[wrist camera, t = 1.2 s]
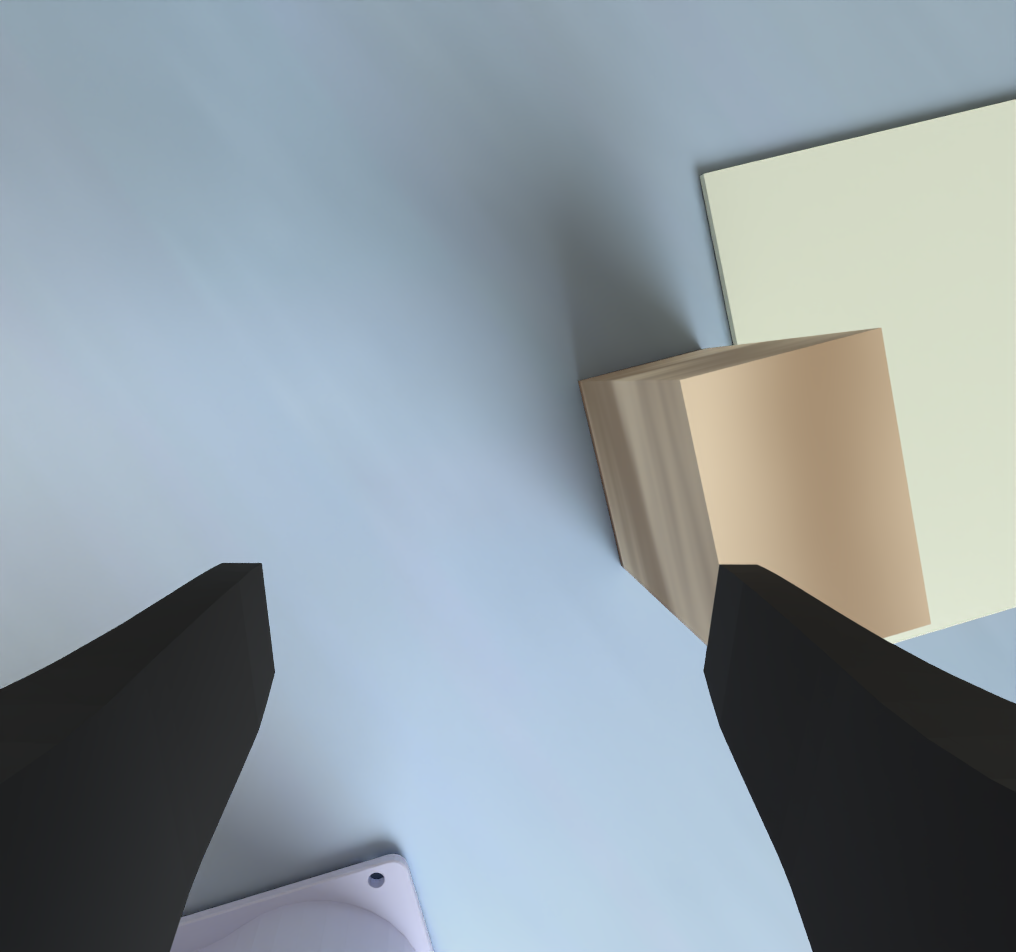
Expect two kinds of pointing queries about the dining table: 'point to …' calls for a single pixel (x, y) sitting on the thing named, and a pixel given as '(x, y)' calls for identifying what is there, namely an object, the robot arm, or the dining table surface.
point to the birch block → (762, 475)
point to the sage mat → (903, 314)
